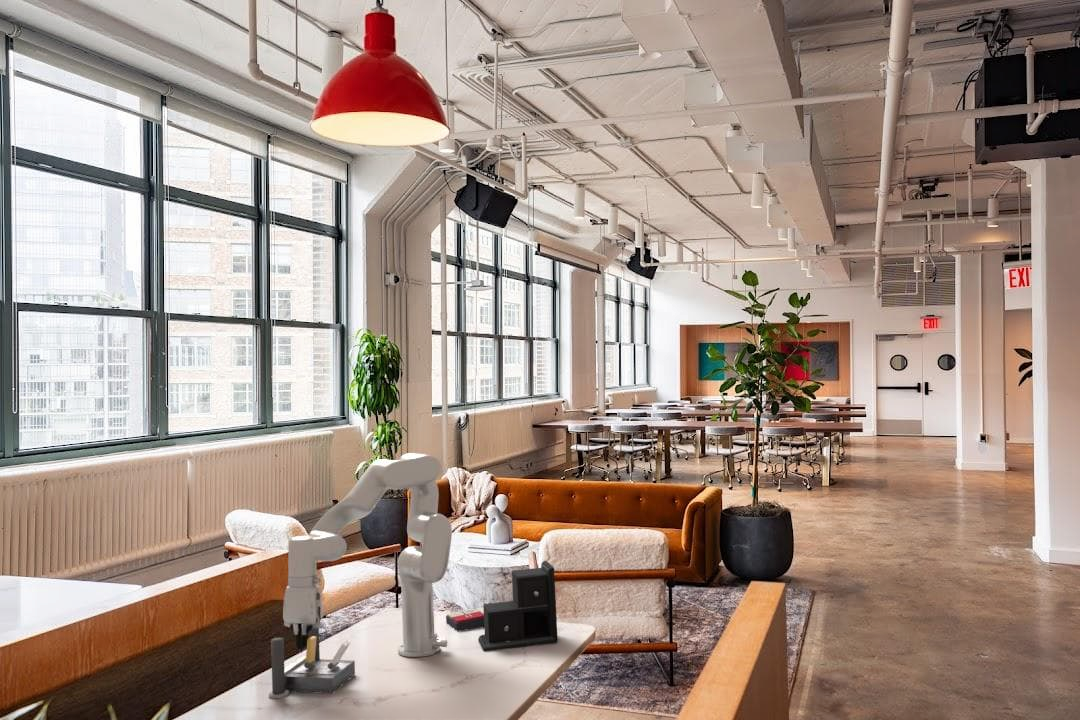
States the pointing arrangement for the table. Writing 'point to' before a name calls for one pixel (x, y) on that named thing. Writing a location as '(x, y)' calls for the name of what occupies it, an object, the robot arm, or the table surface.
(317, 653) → the post far
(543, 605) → the black drawer organizer
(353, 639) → the table surface
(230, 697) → the table surface
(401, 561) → the robot arm
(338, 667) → the breaker panel
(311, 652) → the paddle amber
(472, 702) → the table surface
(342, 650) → the paddle white
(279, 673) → the post near
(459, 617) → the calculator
